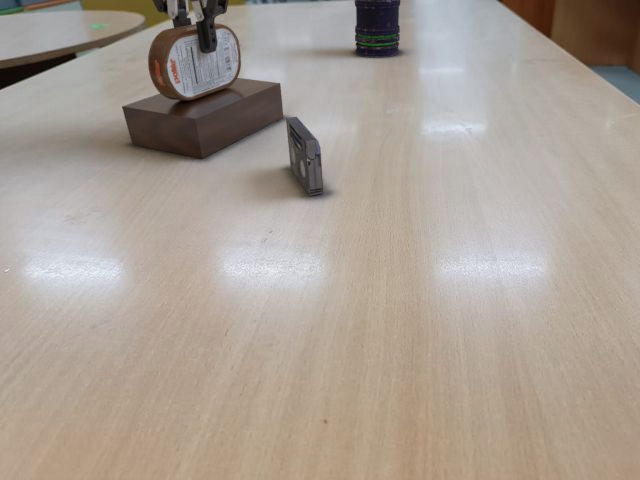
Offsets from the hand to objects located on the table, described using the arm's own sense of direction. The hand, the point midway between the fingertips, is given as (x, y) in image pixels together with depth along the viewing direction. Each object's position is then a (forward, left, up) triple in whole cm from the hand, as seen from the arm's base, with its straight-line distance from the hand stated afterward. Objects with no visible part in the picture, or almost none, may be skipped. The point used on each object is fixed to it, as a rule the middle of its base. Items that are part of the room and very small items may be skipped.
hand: (198, 50), depth 66 cm
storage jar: (-1, +57, -11) cm, 58 cm away
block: (0, 0, -11) cm, 11 cm away
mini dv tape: (+21, -9, -11) cm, 25 cm away
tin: (0, 0, -6) cm, 6 cm away
